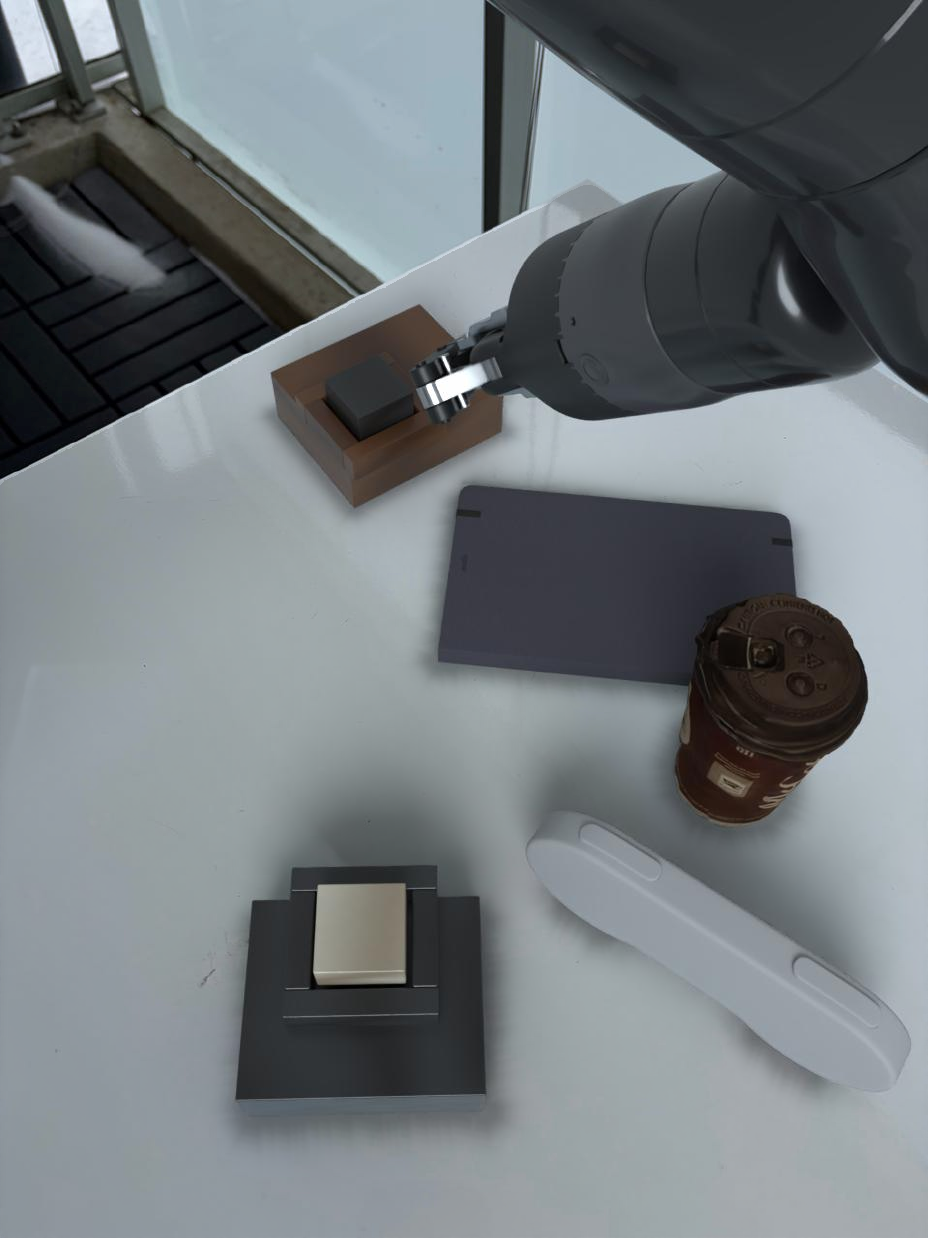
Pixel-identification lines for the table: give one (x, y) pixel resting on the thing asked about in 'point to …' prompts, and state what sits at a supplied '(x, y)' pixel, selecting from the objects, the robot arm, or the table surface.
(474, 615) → the notebook
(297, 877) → the key block
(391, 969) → the ivory key
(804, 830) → the table surface
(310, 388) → the key block
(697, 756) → the coffee cup
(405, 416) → the ebony key
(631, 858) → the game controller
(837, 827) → the table surface
